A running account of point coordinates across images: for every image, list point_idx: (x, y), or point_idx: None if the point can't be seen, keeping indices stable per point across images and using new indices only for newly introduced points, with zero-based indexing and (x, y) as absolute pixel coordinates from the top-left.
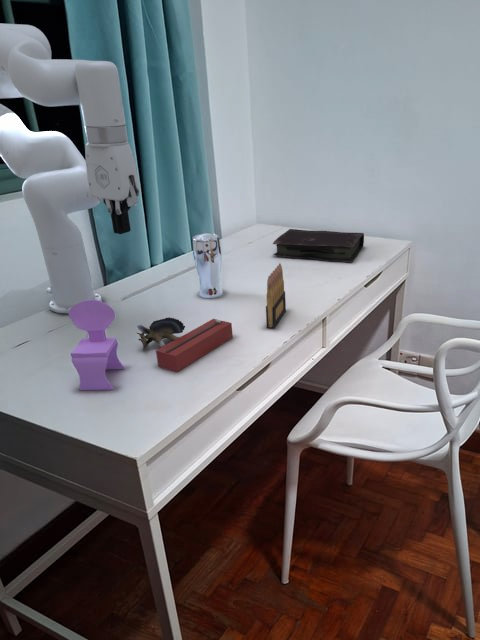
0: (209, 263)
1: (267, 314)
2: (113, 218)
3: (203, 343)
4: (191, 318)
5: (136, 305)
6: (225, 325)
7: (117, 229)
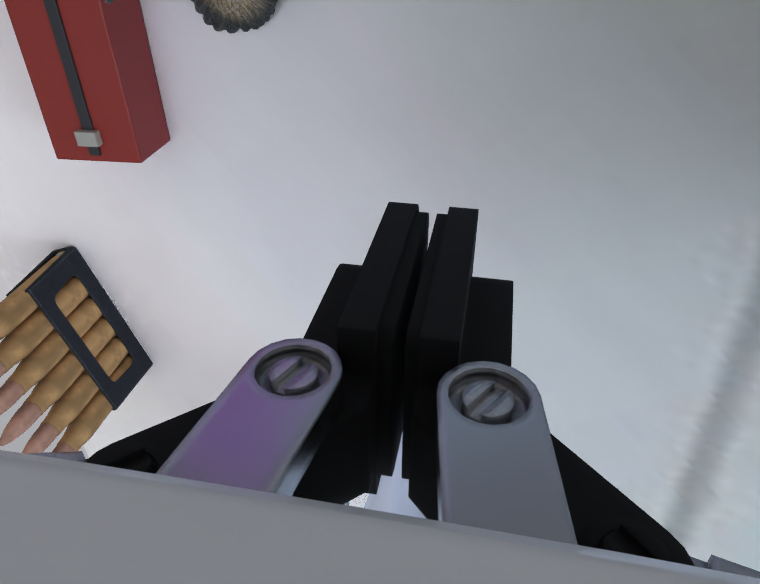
0: (380, 484)
1: (47, 276)
2: (427, 303)
3: None
4: (345, 212)
5: (662, 230)
6: (51, 127)
7: (395, 220)
